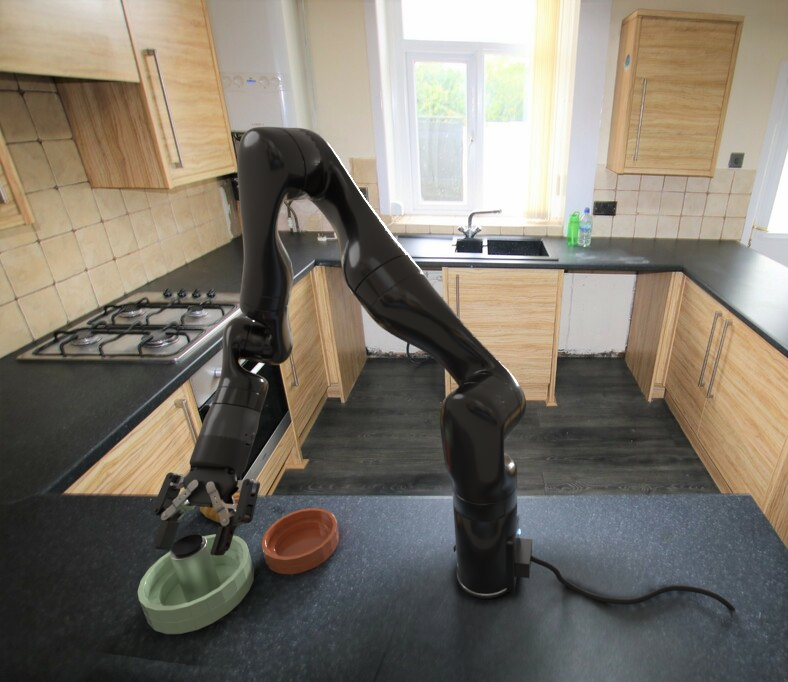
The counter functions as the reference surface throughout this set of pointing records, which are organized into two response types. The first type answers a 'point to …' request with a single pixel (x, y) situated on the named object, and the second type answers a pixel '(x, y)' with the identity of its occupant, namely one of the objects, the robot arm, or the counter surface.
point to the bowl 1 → (180, 616)
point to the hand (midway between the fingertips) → (189, 552)
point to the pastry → (210, 511)
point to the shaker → (194, 567)
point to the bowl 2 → (300, 541)
